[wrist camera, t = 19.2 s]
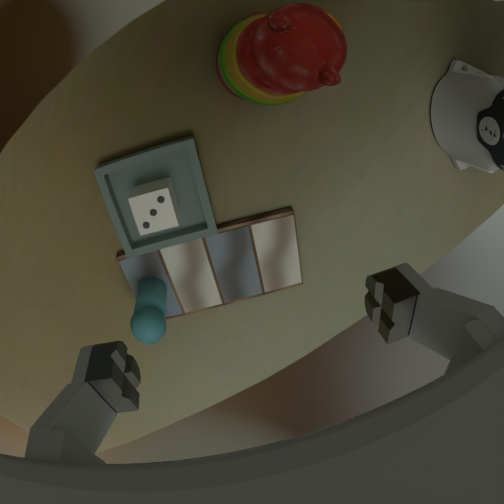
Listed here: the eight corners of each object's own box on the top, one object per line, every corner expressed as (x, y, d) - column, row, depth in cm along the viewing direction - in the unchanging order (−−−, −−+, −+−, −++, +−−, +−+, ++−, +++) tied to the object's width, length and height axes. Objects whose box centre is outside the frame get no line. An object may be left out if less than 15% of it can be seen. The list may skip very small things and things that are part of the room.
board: (291, 207, 40) (294, 211, 39) (300, 279, 46) (303, 284, 45) (117, 252, 38) (115, 258, 37) (149, 317, 45) (148, 324, 44)
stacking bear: (317, 75, 32) (409, 74, 17) (252, 122, 34) (303, 150, 18) (263, 7, 26) (322, -50, 11) (193, 55, 28) (193, 18, 13)
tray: (193, 135, 33) (193, 138, 31) (216, 225, 39) (218, 233, 37) (99, 165, 32) (93, 170, 30) (130, 249, 39) (127, 258, 37)
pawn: (162, 272, 40) (157, 320, 31) (172, 297, 42) (171, 347, 34) (132, 279, 39) (121, 328, 31) (144, 304, 42) (137, 353, 33)
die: (170, 176, 34) (167, 187, 30) (179, 210, 37) (178, 226, 33) (134, 186, 34) (127, 199, 30) (145, 219, 36) (140, 235, 32)
